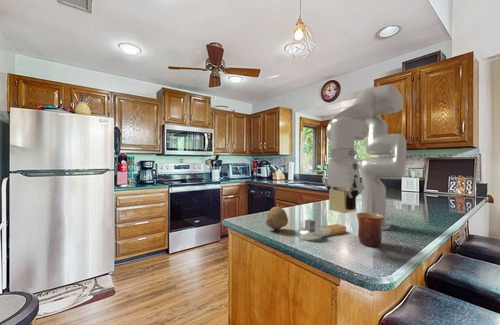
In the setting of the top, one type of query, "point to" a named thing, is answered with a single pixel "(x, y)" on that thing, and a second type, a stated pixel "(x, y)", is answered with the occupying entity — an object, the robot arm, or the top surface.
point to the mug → (370, 229)
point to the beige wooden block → (339, 200)
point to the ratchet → (318, 231)
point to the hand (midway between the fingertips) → (342, 207)
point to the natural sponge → (276, 218)
